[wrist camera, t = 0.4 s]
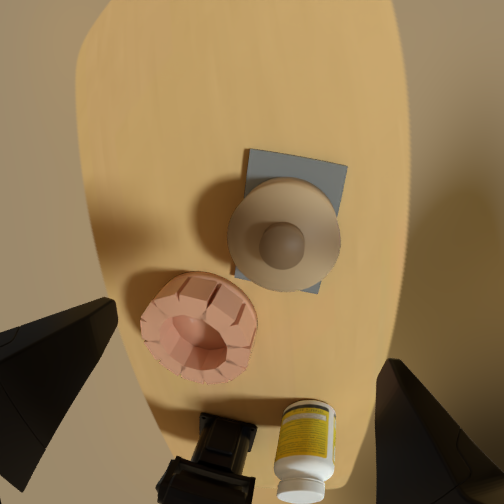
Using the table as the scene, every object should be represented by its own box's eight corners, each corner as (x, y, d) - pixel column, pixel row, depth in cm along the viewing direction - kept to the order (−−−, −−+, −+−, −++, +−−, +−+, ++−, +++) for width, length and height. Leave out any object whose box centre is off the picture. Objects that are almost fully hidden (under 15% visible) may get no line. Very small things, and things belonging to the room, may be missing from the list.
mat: (317, 291, 21) (317, 294, 21) (235, 275, 22) (234, 277, 22) (346, 165, 17) (347, 166, 17) (251, 148, 18) (250, 149, 18)
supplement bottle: (272, 408, 28) (255, 491, 19) (318, 391, 26) (312, 483, 17) (301, 431, 29) (291, 508, 20) (345, 417, 27) (343, 500, 18)
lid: (324, 278, 20) (326, 310, 17) (233, 260, 21) (218, 288, 18) (346, 187, 18) (355, 203, 14) (244, 169, 18) (228, 179, 15)
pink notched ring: (250, 364, 25) (242, 393, 22) (162, 341, 26) (146, 366, 23) (265, 284, 22) (256, 312, 19) (158, 261, 23) (136, 283, 20)
